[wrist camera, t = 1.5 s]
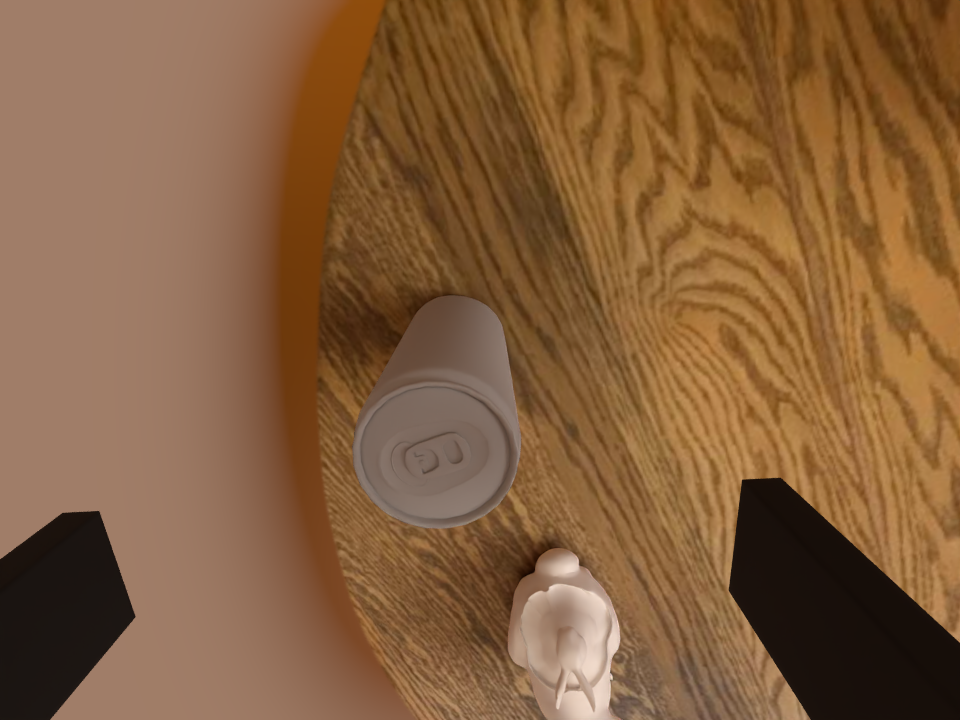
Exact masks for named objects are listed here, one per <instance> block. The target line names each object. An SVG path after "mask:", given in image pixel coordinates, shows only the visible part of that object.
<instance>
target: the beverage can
mask: <svg viewBox="0 0 960 720" xmlns="http://www.w3.org/2000/svg"><path fill="white" fill-rule="evenodd" d="M352 448H353V466H354V469H355V471H356V474H357V477H358V480H359V483H360V485H361V486H362V488H363V489H364V491H365V492H366V493H367V495H368V496H369V498H370V499H371V501H373V502H374V503H375V504H376V505H377V506H378V507H380V508H381V509H382V510H383V511H384V512H385V513H387V514H388V515H390V516H392V517H394V518H396V519H398V520H400V521H402V522H404V523H407V524H411V525H415V526H419V527H423V528H443V529H445V528H451V527H456V526H461V525H466V524H468V523H470V522H472V521H474V520H477V519H479V518H481V517H483V516H485V515H486V514H487V513H488V512H490V511H491V510H492V509H493V508H495V507H496V506H497V505H499V503H500V502H501V501H502V499H503V498H504V497H505V495H506V494H507V493H508V491H509V490H510V488H511V486H512V483H513V480H514V478H515V475H516V472H517V465H518V462H519V459H520V448H521V434H520V428H519V421H518V415H517V409H516V403H515V397H514V391H513V385H512V378H511V372H510V366H509V360H508V354H507V348H506V341H505V336H504V331H503V327H502V324H501V322H500V321H499V319H498V317H497V315H496V314H495V313H494V312H493V311H492V310H491V309H490V308H489V307H488V306H487V305H485V304H483V303H481V302H480V301H478V300H475V299H472V298H469V297H465V296H456V295H448V296H442V297H437V298H435V299H433V300H431V301H429V302H427V303H426V304H425V305H424V306H423V307H422V308H420V309H419V310H418V311H417V313H416V314H415V316H414V318H413V319H412V321H411V323H410V325H409V326H408V328H407V330H406V332H405V333H404V335H403V337H402V339H401V340H400V342H399V344H398V346H397V348H396V349H395V351H394V353H393V355H392V356H391V358H390V360H389V362H388V363H387V365H386V367H385V369H384V370H383V372H382V374H381V376H380V378H379V379H378V381H377V383H376V385H375V386H374V388H373V390H372V392H371V393H370V395H369V397H368V399H367V400H366V402H365V404H364V406H363V407H362V409H361V411H360V413H359V416H358V420H357V424H356V428H355V432H354V442H353V446H352Z"/></svg>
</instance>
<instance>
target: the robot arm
mask: <svg viewBox="0 0 960 720" xmlns="http://www.w3.org/2000/svg"><path fill="white" fill-rule="evenodd" d="M729 592H730V593H731V595H732V596H733V598H734V600H735V601H736V603H737V604H738V606H739V607H740V609H741V611H742V612H743V614H744V615H745V617H746V618H747V620H748V622H749V623H750V625H751V626H752V628H753V629H754V631H755V633H756V634H757V636H758V637H759V639H760V640H761V642H762V644H763V645H764V647H765V648H766V650H767V651H768V653H769V654H770V656H771V658H772V659H773V661H774V662H775V664H776V665H777V667H778V669H779V670H780V672H781V673H782V675H783V676H784V678H785V680H786V681H787V683H788V684H789V686H790V687H791V689H792V691H793V692H794V694H795V695H796V697H797V698H798V700H799V702H800V703H801V705H802V706H803V708H804V709H805V711H806V713H807V714H808V716H809V717H810V719H811V720H960V643H959V642H958V641H957V640H956V639H955V638H954V637H953V636H952V635H951V634H950V633H948V632H947V631H946V630H945V629H944V628H943V627H942V626H941V625H940V624H939V623H938V622H937V621H935V620H934V619H933V618H932V617H931V616H930V615H929V614H928V613H927V612H926V611H925V610H923V609H922V608H921V607H920V606H919V605H918V604H917V603H916V602H915V601H914V600H913V599H912V598H910V597H909V596H908V595H907V594H906V593H905V592H904V591H903V590H902V589H901V588H900V587H899V586H897V585H896V584H895V583H894V582H893V581H892V580H891V579H890V578H889V577H888V576H887V575H886V574H884V573H883V572H882V571H881V570H880V569H879V568H878V567H877V566H876V565H875V564H874V563H873V562H871V561H870V560H869V559H868V558H867V557H866V556H865V555H864V554H863V553H862V552H861V551H860V550H858V549H857V548H856V547H855V546H854V545H853V544H852V543H851V542H850V541H849V540H848V539H846V538H845V537H844V536H843V535H842V534H841V533H840V532H839V531H838V530H837V529H836V528H835V527H833V526H832V525H831V524H830V523H829V522H828V521H827V520H826V519H825V518H824V517H823V516H822V515H820V514H819V513H818V512H817V511H816V510H815V509H814V508H813V507H812V506H811V505H810V504H809V503H807V502H806V501H805V500H804V499H803V498H802V497H801V496H800V495H799V494H798V493H797V492H796V491H794V490H793V489H792V488H791V487H790V486H789V485H788V484H787V483H786V482H785V481H784V480H783V479H781V478H767V479H746V480H742V485H741V493H740V502H739V510H738V518H737V527H736V535H735V543H734V552H733V560H732V568H731V576H730V585H729ZM134 618H135V614H134V611H133V608H132V605H131V602H130V599H129V596H128V593H127V590H126V588H125V585H124V582H123V579H122V576H121V573H120V570H119V567H118V564H117V561H116V558H115V556H114V553H113V550H112V547H111V544H110V541H109V538H108V535H107V532H106V529H105V527H104V523H103V521H102V518H101V515H100V512H99V511H91V512H72V513H62V514H61V515H59V516H58V517H57V518H55V519H54V520H53V521H51V522H50V523H48V524H47V525H46V526H44V527H43V528H42V529H40V530H39V531H38V532H36V533H35V534H34V535H32V536H31V537H30V538H28V539H27V540H26V541H24V542H23V543H22V544H20V545H19V546H18V547H16V548H15V549H14V550H12V551H11V552H9V553H8V554H7V555H6V556H4V557H3V558H1V559H0V720H50V719H51V718H52V717H53V716H54V714H55V713H56V712H57V711H58V710H59V708H60V707H61V706H62V705H63V704H64V702H65V701H66V700H67V699H68V698H69V696H70V695H71V694H72V693H73V692H74V690H75V689H76V688H77V687H78V686H79V684H80V683H81V682H82V681H83V679H84V678H85V677H86V676H87V675H88V674H89V672H90V671H91V670H92V669H93V668H94V666H95V665H96V664H97V663H98V662H99V660H100V659H101V658H102V657H103V656H104V654H105V653H106V652H107V651H108V649H109V648H110V647H111V646H112V645H113V643H114V642H115V641H116V640H117V639H118V637H119V636H120V635H121V634H122V633H123V631H124V630H125V629H126V628H127V626H128V625H129V624H130V623H131V622H132V621H133V619H134Z"/></svg>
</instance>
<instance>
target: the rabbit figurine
mask: <svg viewBox="0 0 960 720" xmlns="http://www.w3.org/2000/svg"><path fill="white" fill-rule="evenodd" d="M619 644H620V630H619V624H618V619H617V616H616V613H615V611H614V608H613V605H612V603H611V600H610V598H609V596H608V595H607V594H606V592H605V590H604V589H603V587H602V586H601V585H600V584H599V582H598V581H597V580H596V579H594V578H593V577H592V575H591V573H590V571H589V570H588V569H587V568H585V567H582V566H579V560H578V557H577V556H576V555H575V554H574V553H572V552H571V551H569V550H567V549H564V548H554V549H550V550H548V551H546V552H545V553H543V554H542V555H541V556H540V557H539V559H538V560H537V563H536V567H535V572H534V573H532V574H529V575H527V576H525V577H523V578H522V579H521V580H520V582H519V584H518V586H517V588H516V590H515V592H514V597H513V607H512V610H511V615H510V625H509V630H508V652H509V654H510V657H511V658H512V660H513V661H514V663H516V664H517V665H519V666H521V667H523V668H525V669H526V670H527V671H528V673H529V677H530V680H531V682H532V686H533V692H534V696H535V698H536V700H537V702H538V704H539V707H540V709H541V711H542V713H543V714H544V716H545V717H546V719H547V720H622V719H620V718H619V717H615V716H613V715H611V714H610V712H609V709H608V706H609V701H610V693H611V685H610V680H611V681H613V679H612V678H613V676H612V674H611V673H610V668H611V660H612V657H613V655H614V654H615V652H616V651H617V649H618V648H619Z"/></svg>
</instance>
